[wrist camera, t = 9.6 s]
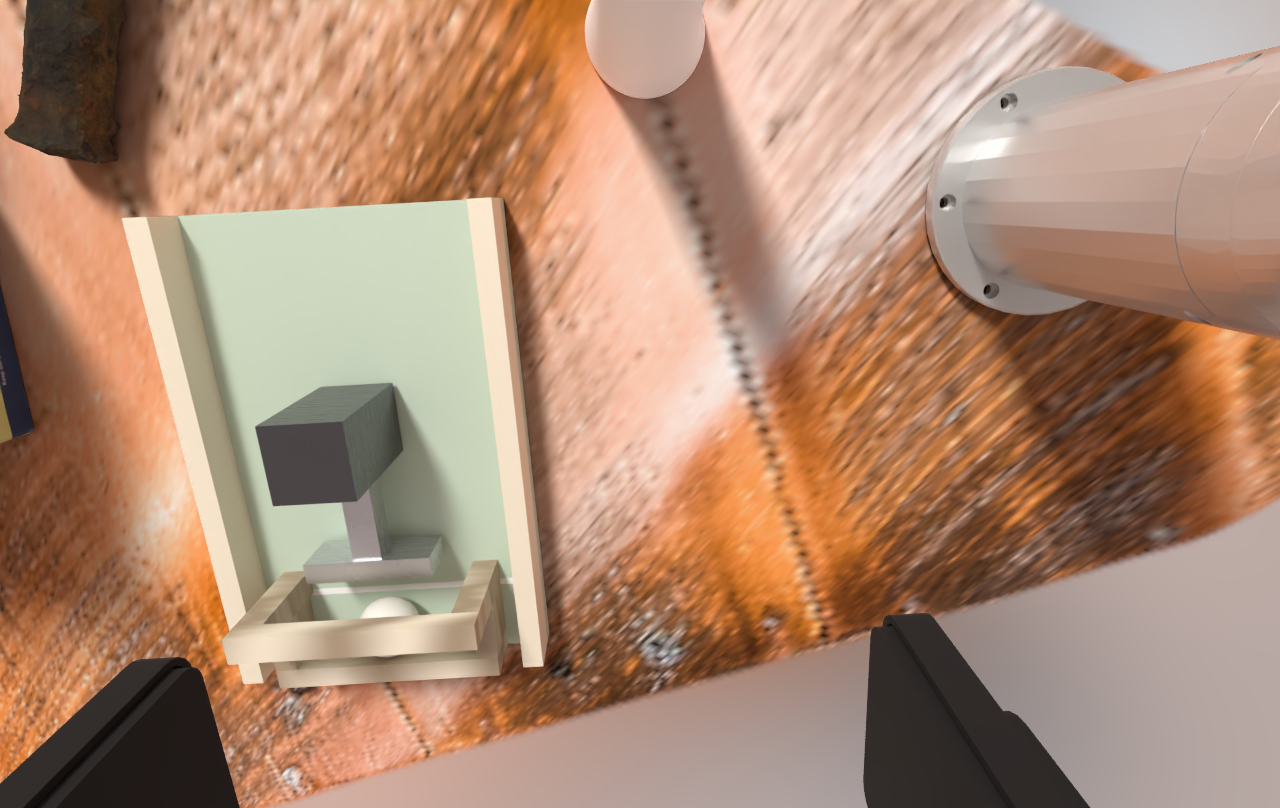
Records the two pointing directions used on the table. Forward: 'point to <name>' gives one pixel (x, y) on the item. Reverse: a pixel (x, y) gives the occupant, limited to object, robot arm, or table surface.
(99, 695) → the robot arm
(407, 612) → the ball
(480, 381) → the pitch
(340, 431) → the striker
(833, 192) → the table surface
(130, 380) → the table surface
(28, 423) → the protein box
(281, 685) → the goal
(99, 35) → the hand tool
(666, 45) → the cosmetic bottle
